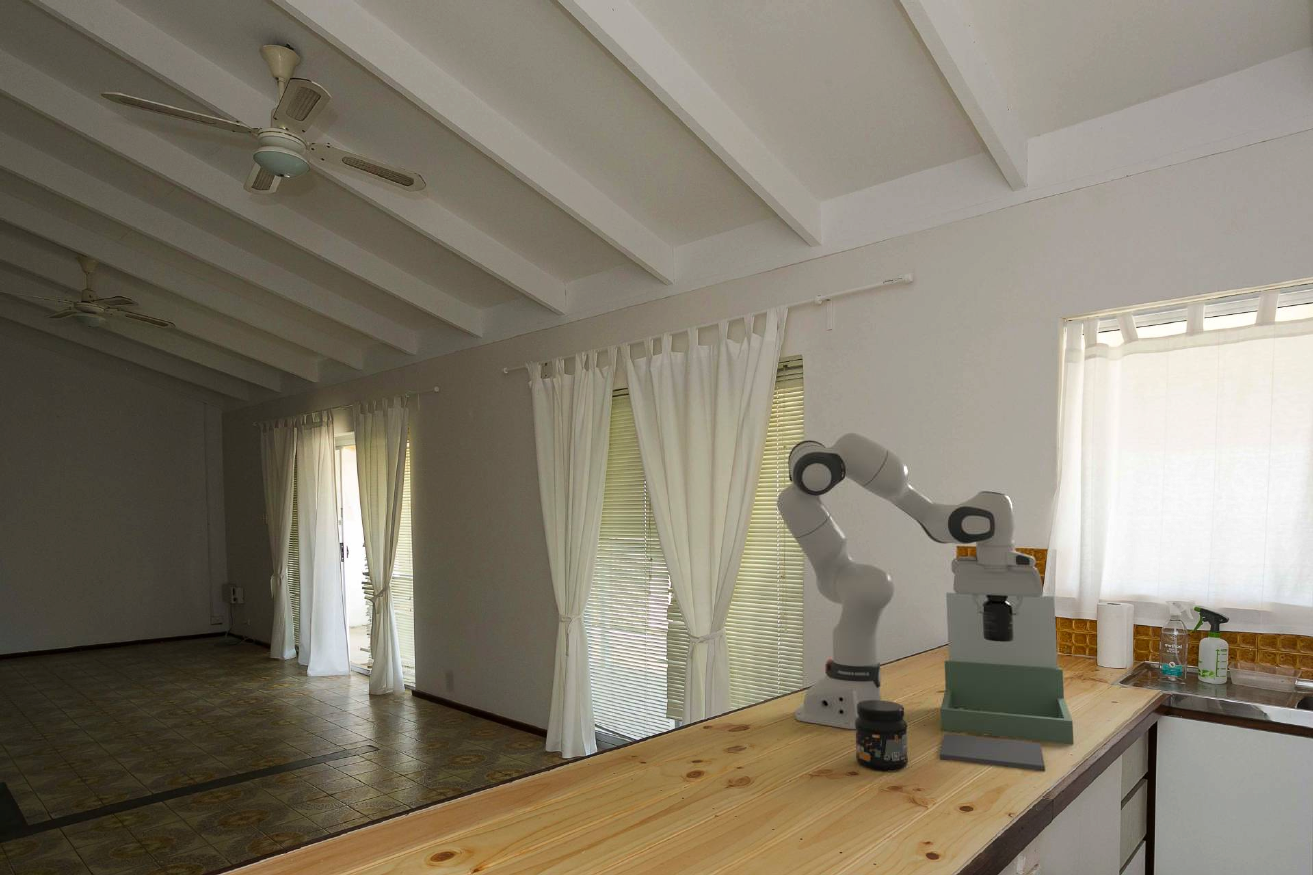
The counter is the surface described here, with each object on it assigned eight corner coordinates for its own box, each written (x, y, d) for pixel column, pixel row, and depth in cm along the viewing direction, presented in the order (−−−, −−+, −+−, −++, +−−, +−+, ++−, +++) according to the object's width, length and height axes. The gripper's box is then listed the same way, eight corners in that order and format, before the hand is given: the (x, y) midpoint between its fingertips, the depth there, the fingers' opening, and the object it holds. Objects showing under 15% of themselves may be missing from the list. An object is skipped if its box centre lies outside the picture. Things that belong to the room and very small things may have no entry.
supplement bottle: (1018, 642, 189) (1016, 592, 190) (990, 642, 189) (988, 591, 190) (1005, 637, 195) (1004, 589, 196) (978, 637, 195) (977, 589, 196)
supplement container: (849, 756, 167) (847, 699, 168) (897, 755, 168) (895, 698, 169) (865, 773, 157) (863, 712, 158) (916, 772, 158) (914, 711, 159)
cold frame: (941, 730, 186) (936, 603, 189) (946, 705, 209) (942, 592, 211) (1073, 743, 175) (1066, 608, 178) (1064, 716, 198) (1058, 596, 200)
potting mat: (940, 758, 165) (940, 753, 166) (944, 737, 180) (944, 733, 180) (1045, 770, 158) (1044, 765, 158) (1040, 748, 172) (1040, 743, 172)
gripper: (950, 556, 194) (952, 613, 193) (1042, 559, 186) (1044, 617, 185) (951, 555, 200) (953, 610, 199) (1040, 557, 192) (1042, 614, 191)
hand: (997, 613), depth 192 cm, fingers closed on supplement bottle, 6 cm apart
